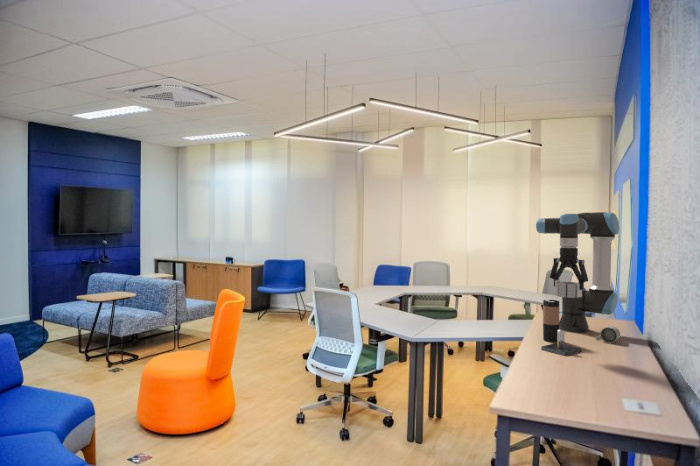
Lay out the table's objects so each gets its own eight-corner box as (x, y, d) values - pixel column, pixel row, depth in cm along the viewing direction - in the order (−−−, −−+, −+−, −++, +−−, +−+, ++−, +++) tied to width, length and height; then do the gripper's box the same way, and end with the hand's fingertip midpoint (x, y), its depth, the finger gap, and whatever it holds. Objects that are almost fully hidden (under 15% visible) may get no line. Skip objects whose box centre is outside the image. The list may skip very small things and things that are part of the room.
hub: (564, 293, 222) (564, 281, 222) (585, 296, 214) (585, 283, 214) (552, 295, 217) (552, 282, 217) (572, 298, 208) (572, 285, 208)
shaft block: (556, 345, 225) (557, 326, 225) (580, 351, 215) (580, 331, 215) (541, 349, 219) (541, 329, 218) (565, 355, 208) (565, 334, 208)
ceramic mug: (621, 341, 234) (620, 325, 234) (617, 344, 228) (617, 328, 228) (597, 337, 241) (597, 323, 241) (593, 341, 235) (593, 325, 235)
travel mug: (557, 343, 230) (557, 302, 230) (540, 340, 235) (541, 301, 234) (560, 339, 236) (561, 300, 236) (545, 337, 241) (545, 299, 240)
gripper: (541, 246, 222) (541, 293, 223) (588, 248, 203) (587, 299, 204) (551, 245, 226) (550, 291, 227) (597, 248, 207) (597, 297, 208)
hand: (568, 295), depth 215 cm, fingers closed on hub, 10 cm apart
